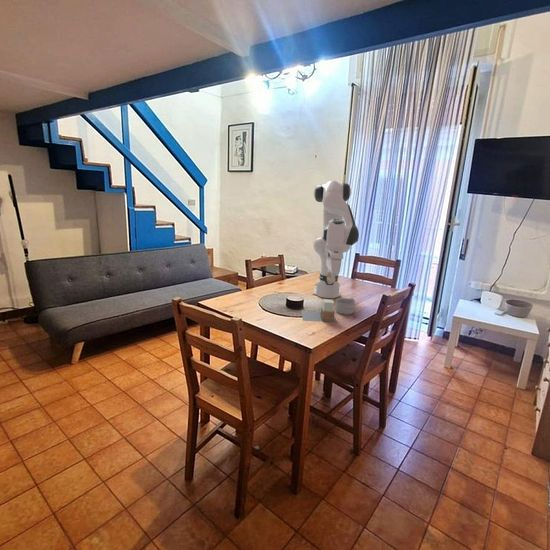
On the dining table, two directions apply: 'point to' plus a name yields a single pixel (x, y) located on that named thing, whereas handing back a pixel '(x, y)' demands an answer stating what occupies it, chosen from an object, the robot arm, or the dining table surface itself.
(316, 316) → the slate board
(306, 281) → the dining table surface
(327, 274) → the beech cylinder
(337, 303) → the teacup
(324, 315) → the walnut base block
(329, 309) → the sage top block
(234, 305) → the dining table surface
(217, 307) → the dining table surface
